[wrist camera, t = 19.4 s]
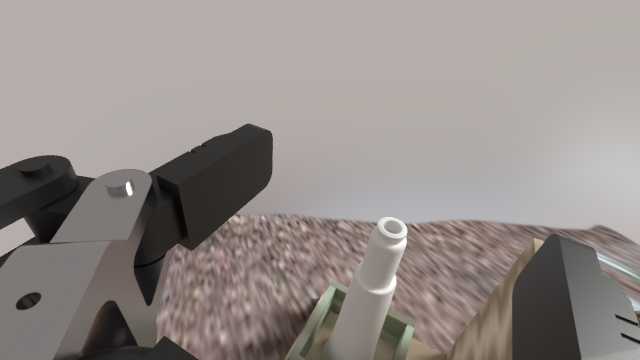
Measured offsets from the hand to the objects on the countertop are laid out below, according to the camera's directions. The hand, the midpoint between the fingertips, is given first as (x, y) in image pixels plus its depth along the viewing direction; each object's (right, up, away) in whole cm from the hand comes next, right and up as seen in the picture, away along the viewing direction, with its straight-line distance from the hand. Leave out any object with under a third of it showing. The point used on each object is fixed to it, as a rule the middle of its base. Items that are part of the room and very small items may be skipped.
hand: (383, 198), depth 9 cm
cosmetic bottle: (+1, -21, +27) cm, 34 cm away
